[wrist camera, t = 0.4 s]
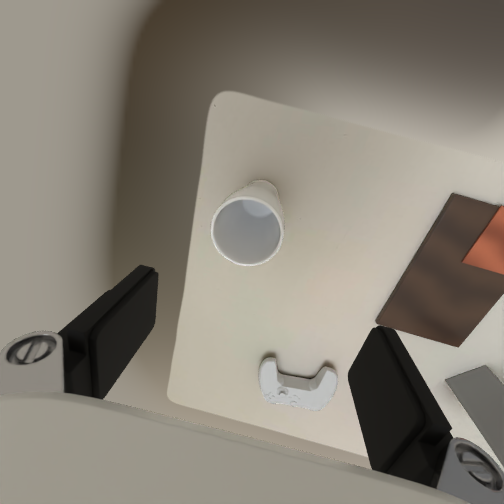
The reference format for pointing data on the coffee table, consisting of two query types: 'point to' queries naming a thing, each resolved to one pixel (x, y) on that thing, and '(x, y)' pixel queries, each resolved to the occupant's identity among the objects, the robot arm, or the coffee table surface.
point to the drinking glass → (249, 224)
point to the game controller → (297, 387)
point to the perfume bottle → (483, 404)
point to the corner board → (451, 274)
